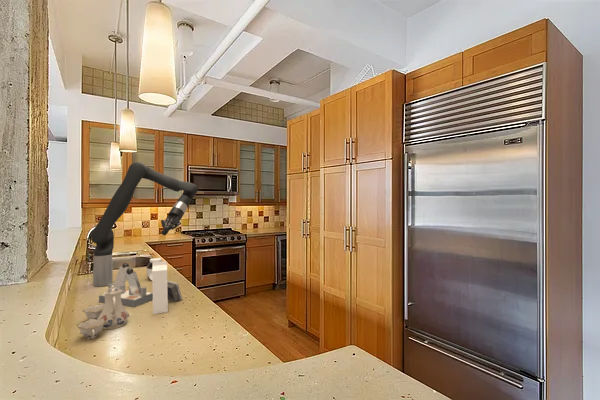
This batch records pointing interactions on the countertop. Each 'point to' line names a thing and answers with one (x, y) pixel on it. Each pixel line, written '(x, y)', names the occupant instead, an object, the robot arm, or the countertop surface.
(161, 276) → the milk
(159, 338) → the countertop surface
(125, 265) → the lever inner
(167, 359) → the countertop surface
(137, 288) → the lever outer
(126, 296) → the switch panel
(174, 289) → the electrical switch
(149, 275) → the spread jar
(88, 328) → the chinaware
